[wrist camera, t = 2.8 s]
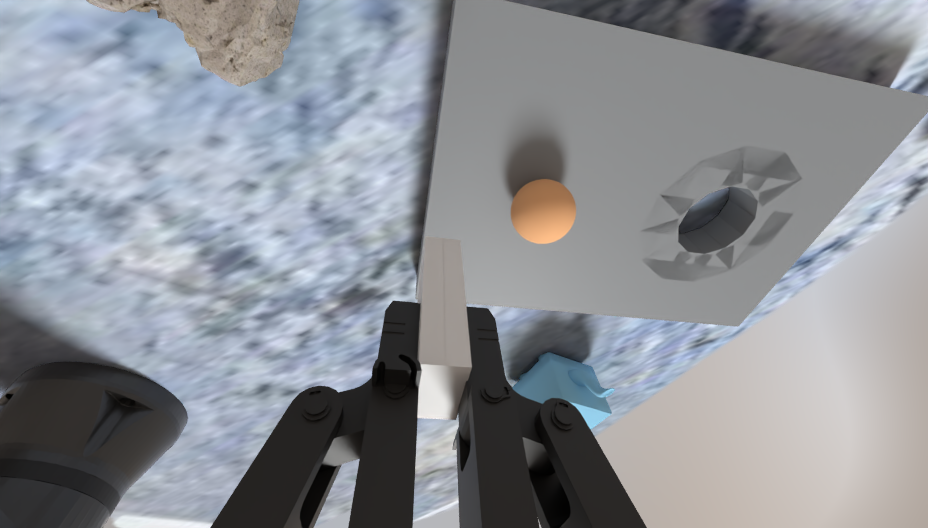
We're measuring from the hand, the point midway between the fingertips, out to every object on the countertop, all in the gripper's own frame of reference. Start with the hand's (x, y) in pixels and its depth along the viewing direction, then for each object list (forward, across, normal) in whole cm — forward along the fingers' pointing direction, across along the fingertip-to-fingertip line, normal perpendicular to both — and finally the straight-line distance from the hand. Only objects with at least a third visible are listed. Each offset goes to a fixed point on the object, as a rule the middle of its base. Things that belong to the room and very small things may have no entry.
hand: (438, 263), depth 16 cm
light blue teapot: (+12, +16, -21) cm, 29 cm away
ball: (+7, +7, 0) cm, 10 cm away
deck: (+12, +14, 0) cm, 19 cm away
